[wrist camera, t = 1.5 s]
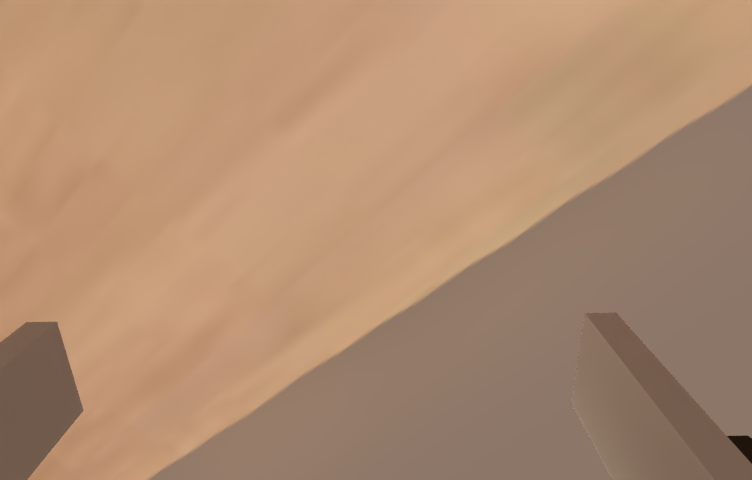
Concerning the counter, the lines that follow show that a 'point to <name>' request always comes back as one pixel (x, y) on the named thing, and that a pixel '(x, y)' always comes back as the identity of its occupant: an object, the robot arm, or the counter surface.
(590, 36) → the counter surface
